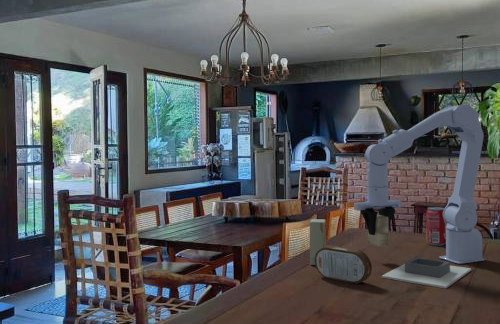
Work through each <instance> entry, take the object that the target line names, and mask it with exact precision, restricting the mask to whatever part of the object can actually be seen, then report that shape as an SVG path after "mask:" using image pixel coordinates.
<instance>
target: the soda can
mask: <svg viewBox="0 0 500 324" xmlns="http://www.w3.org/2000/svg"><path fill="white" fill-rule="evenodd" d="M444 209H445V207H439V206H429V207H427V210H426V213H425V214H426V217H425V220H426V221H425V222H426V223H425V228H426V230H425V232H426V233H425V234H426V235H425V238H426V240H425V241H426V243H427V244H428V245H429V246H440V247H441V246H444V245H446V226H447V223H446V222H445V221H444V219H443V211H444Z"/></svg>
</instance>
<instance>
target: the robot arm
mask: <svg viewBox="0 0 500 324" xmlns="http://www.w3.org/2000/svg"><path fill="white" fill-rule="evenodd" d="M479 119H480V114H479V112H477V110H476V108H474V107H473V106H472V105H469V104H467V103H464V104H459V105H456V106H455V105H454V106H453V105H451V106H450V105H449V106H447V107H445V108H444V109H441V110H438V111H437V112H434V113H432V114H431V115H429V116H427V118H425V119H423V120H422V121H420V122H418V123H417V124H414V125H413V126H412V127H411V128H409V129H407V130H405V129H402V128H400V129H399V130H398V129H394V130H392V134H389V135H388V136H386V137H385V138H383V139H382V138H380V139H378V140H377V142H378V143H377V144H375V143H372V144H371V145H369V146H368V147H367V148H366V150H365V152H364V154H363V155H364V159H365V160H366V162H367V164H366V165H367V170H366V182H367V185H366V186H367V187H366V188H367V189H366V190H367V192H366V193H367V196H366V197H367V200H366V201H360V202H354V203H353V210H354V211H356V212H357V211H358V212H360V214H361V215H362V217H363V220H364V221H365V225H366V228H367V233H368V232H369V234H370V235H375V224H376V217H377V215H381V216H386V217H388V228H389V227H390V223H391V221H392V220H393V219H392V218H393V217H394V215H395V214H396V209H395V208H401V207H402V201H401V200H399V199H391V200H390V199H389V177H388V176H389V170H388V166H389V165H388V163H389V162H390V159H391V158H394V157H395V156H397V155H399V154H401V153H402V152H404V151H406V150H408V149H409V148H411V147H413V144H414V140H416V139H419V138H420V137H422V136H424V135H426V134H427V133H430V132H431V131H434V130H435V129H437V128H440V127H446V128H448V129H449V130H451V131H453V132H455V134H456V135H457V136H458V137H459V138H460V139H461V147H460V152H459V157H458V158H459V159H458V163H457V168H456V173H455V174H456V176H455V180H454V187H453V193H452V195H451V196H450V197H449V198H448V201H447V205H446V206H445V207H444V208H445V209H444V211H443V219H444V221H445V222H446V243H445V255H441V256H440V255H439V257H438V258H439V259H442V260H443V261H445V260H446V261H447V262H450V263H455V264H458V265H459V264H460V265H462V264H467V263H469V264H470V263H475V262H484V261H485V260H486V259H485V258H484V257H483V236H482V234H481V232H480V230H478V229H477V228H475V226H476V225H477V223H478V215H477V204H476V201H475V199H474V195H475V188H476V181H477V177H478V176H477V175H478V171H479V166H480V165H479V164H480V159H481V153H482V150H483V149H482V147H483V142H484V137H485V136H484V131H483V128H482V126H481V123H480V120H479ZM376 210H377V211H376Z"/></svg>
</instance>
